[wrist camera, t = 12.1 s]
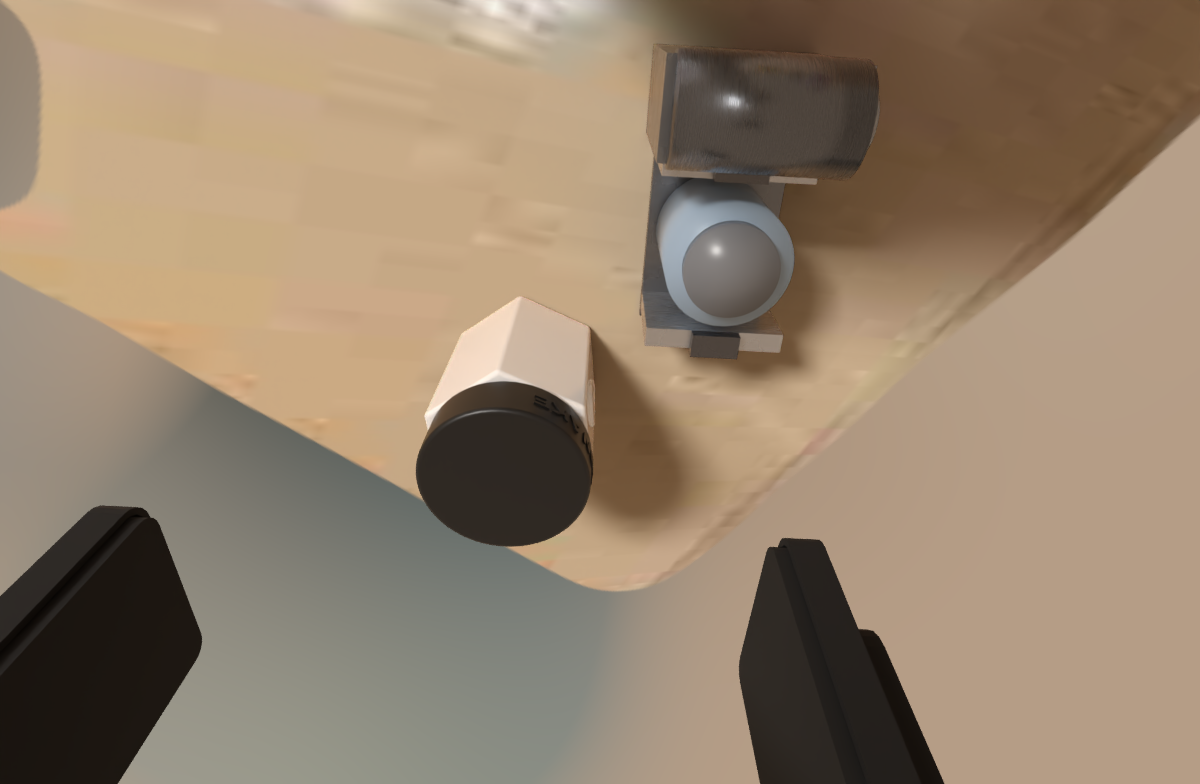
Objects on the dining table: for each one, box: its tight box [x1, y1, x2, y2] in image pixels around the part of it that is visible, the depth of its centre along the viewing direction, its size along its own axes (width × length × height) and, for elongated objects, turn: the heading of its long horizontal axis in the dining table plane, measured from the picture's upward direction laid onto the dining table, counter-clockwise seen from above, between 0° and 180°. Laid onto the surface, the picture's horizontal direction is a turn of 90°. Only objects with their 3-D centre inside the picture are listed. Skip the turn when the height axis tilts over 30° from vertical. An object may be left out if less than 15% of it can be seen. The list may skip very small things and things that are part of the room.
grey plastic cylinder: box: [656, 178, 794, 326], centre depth 32 cm, size 6×6×7 cm
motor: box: [639, 44, 880, 359], centre depth 30 cm, size 14×8×10 cm, turn 177°
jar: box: [416, 296, 595, 546], centre depth 35 cm, size 9×8×12 cm
